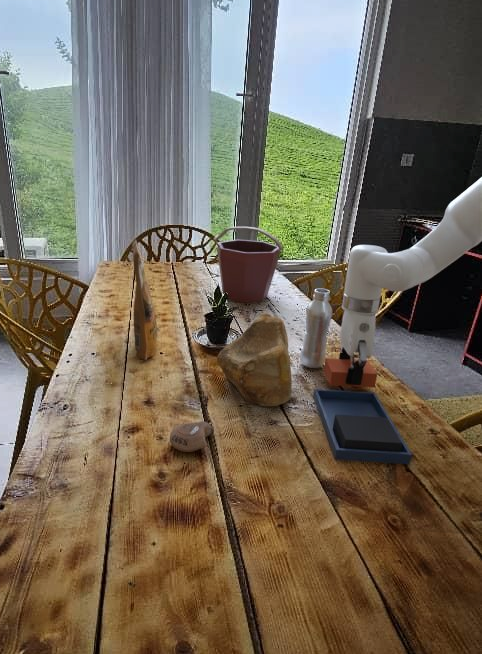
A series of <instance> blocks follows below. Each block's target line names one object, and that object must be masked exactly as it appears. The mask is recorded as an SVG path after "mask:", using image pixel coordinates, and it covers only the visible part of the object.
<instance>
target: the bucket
mask: <svg viewBox="0 0 482 654" xmlns="http://www.w3.org/2000/svg"><path fill="white" fill-rule="evenodd" d="M234 230H248V231H249V230H250V231H255V232H258V233H260V234H261V235H264V236H265V237H267V238H268V239H270V240H271V241H273V243H274V244H273V243H270V242H266V241H263V240H262V241H261V240H249V239H231V240H230V239H229V240H225V241H218V240H220V239H221V238H223V237H224V236H225V235H226V234H227V233H228V232H230V231H234ZM213 240H214V243H215V245H216V246H217V249H216V251H217V260H218V268H219V275H220V282H221V283H220V284H221V291H223V292H222V294H223V293H226V292H227V293H228V299H227V300H229V301H233V302H237V303H241V304H251V303H263V302H264V300H266V299H267V298H268V294H269V291H270V290H271V289H270V287H271V285H272V282H273V278H274V276H275V271H276V269H277V267H278V262H279V258H280V253H281V251H282V250H283V248H284V247H283V245H282V243H281V242H280V241H279V239H278V238H277V237H275V236H274V235H273V234H271V233H269V232H268V231H266V230H265V229H262V228H259V227H254V226H231V227H227V228H224V229H223V231H221V233H219V235H215V237H213Z"/></svg>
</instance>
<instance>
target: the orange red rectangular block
mask: <svg viewBox="0 0 482 654" xmlns="http://www.w3.org/2000/svg"><path fill="white" fill-rule="evenodd" d="M356 361H358V359H354V363H355V362H356ZM323 365H324V367H323V373H324V375H325V378H326V380H327V383H328V384H329V386H330V387H331V386H333V387H350V388H353V387H355V388H374V389H375V388H376V382H377V378H378V372H376V370H375V369H374V367H373V366H372V364H371V363H370V361H369V360H368V359H367V363H366V365H365V366H364V370H363V376H362V382H361V385H350V384H347V383H346V379H347V373H348V367H350V360H349V359H339V358H326V359H325V362H324V364H323Z"/></svg>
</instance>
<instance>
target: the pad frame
mask: <svg viewBox="0 0 482 654" xmlns="http://www.w3.org/2000/svg"><path fill="white" fill-rule="evenodd" d="M312 395H313V396H312V398H313V401H314V403H315V407H316V409H317V412H318V415H319V418H320V420H321V424H322V427H323V429H324V430H323V431H324V432H325V435H326V438H327V441H328V444H329V448H330V449H331V450H330V451H331V453H332V456H333V457H334V460H339V461H353V462H354V461H355V462H368V463H382V464H383V463H385V464H400V465H410V464H411V463H412V458H413V453H412V451H411V450H410V449H409V447H408V445H407V444H406V442H405V440H404V438H403V437H402V436H401V434H400V432H399V430H398V428H397V426H396V425H395V423H394V421H393V420H392V418H391V417H390V415H389V414H388V412H387V410H386V408H385V407H384V405H383V404H382V402H381V401H380V399H379V397H378V395H377V394H376V392H375V391H374V392H373V391H359V390H357V391H356V390H341V389H340V390H338V389H325V388H314V389H313V394H312ZM335 414H337V415H353V416H369V417H385V418H388V420H389V421H390V423H391V425H392V426H393V428H394V430H395V431H396V433H397V435H398V437H399V438H400V440H401V442H402V447H401V451H400V452H391V451H376V450H360V449H345V448H339V445H338V442H337V440H336V437H335V434H334V432H333V424H334V419H335Z"/></svg>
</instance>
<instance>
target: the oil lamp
mask: <svg viewBox="0 0 482 654" xmlns="http://www.w3.org/2000/svg"><path fill="white" fill-rule="evenodd" d="M214 432H215V428H214V427H213V426H212V425H211V424H210V423H209V422H207V421H204V420H202V421H196V422H186V423H180V424H178V425H175V426H173V427H172V430H171V432H170V434H169V443H170V445H171V446H172V447H173V448H174V449H175V450H178V451H180V452H184V453H192V452H197V451H199V450H201V449H204V448H206V447H207V441H206V437H207V438H208V437H210V436H211V435H212V434H213V433H214Z"/></svg>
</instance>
